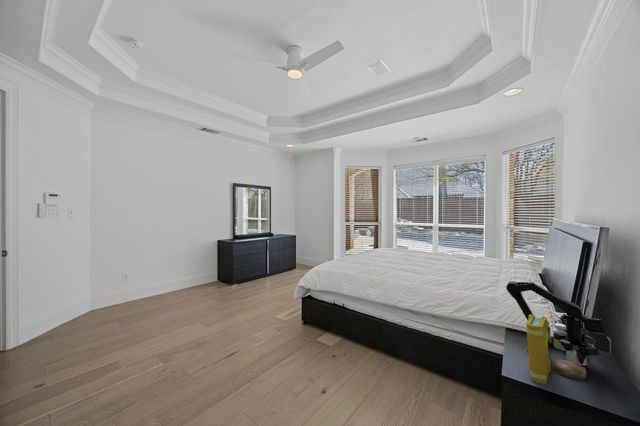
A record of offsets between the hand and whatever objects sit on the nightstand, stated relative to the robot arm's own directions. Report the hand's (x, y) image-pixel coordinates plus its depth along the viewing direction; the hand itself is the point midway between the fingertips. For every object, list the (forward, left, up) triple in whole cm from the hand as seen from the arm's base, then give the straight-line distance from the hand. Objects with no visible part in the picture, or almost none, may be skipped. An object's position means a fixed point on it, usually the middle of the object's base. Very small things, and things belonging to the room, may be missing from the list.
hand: (576, 360), depth 130 cm
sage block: (0, 0, -1) cm, 1 cm away
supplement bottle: (+6, +15, -1) cm, 16 cm away
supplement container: (+1, +24, -1) cm, 24 cm away
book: (-25, -9, -1) cm, 27 cm away
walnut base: (-10, -7, -1) cm, 12 cm away
